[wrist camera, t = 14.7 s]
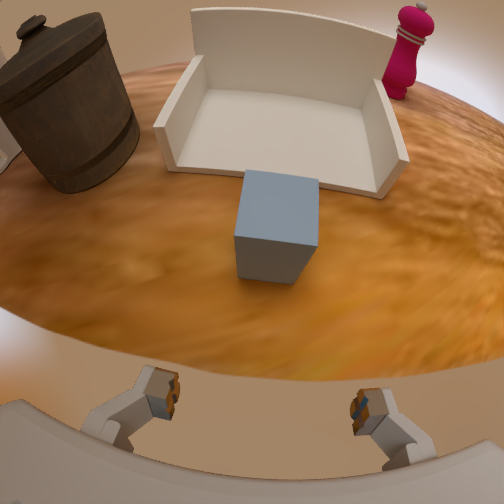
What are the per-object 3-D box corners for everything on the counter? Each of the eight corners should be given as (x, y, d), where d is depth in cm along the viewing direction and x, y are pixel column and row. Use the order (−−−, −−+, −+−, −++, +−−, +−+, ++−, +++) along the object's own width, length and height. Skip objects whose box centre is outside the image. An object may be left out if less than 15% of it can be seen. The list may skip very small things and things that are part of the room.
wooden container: (129, 101, 34) (93, -18, 14) (152, 157, 29) (95, -12, 9) (50, 145, 31) (-10, 44, 11) (52, 214, 27) (-52, 93, 6)
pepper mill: (412, 105, 36) (453, 19, 18) (378, 97, 36) (415, 0, 17) (397, 82, 39) (429, 3, 20) (365, 75, 39) (393, -12, 20)
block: (237, 277, 24) (234, 235, 16) (245, 228, 26) (245, 169, 18) (293, 284, 24) (317, 246, 16) (296, 234, 26) (318, 179, 18)
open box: (168, 171, 29) (133, 67, 16) (202, 89, 34) (193, 8, 21) (382, 199, 28) (443, 111, 15) (365, 111, 34) (394, 36, 21)
